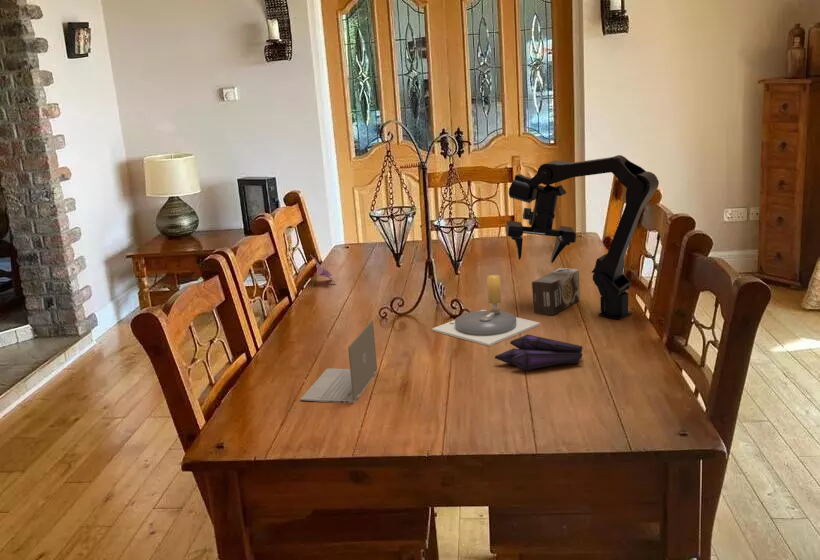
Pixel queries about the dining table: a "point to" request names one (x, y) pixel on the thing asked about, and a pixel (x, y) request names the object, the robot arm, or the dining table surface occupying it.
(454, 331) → the panel
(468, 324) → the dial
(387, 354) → the dining table surface
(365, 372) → the laptop
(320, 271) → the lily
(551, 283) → the coffee box
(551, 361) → the crystal
